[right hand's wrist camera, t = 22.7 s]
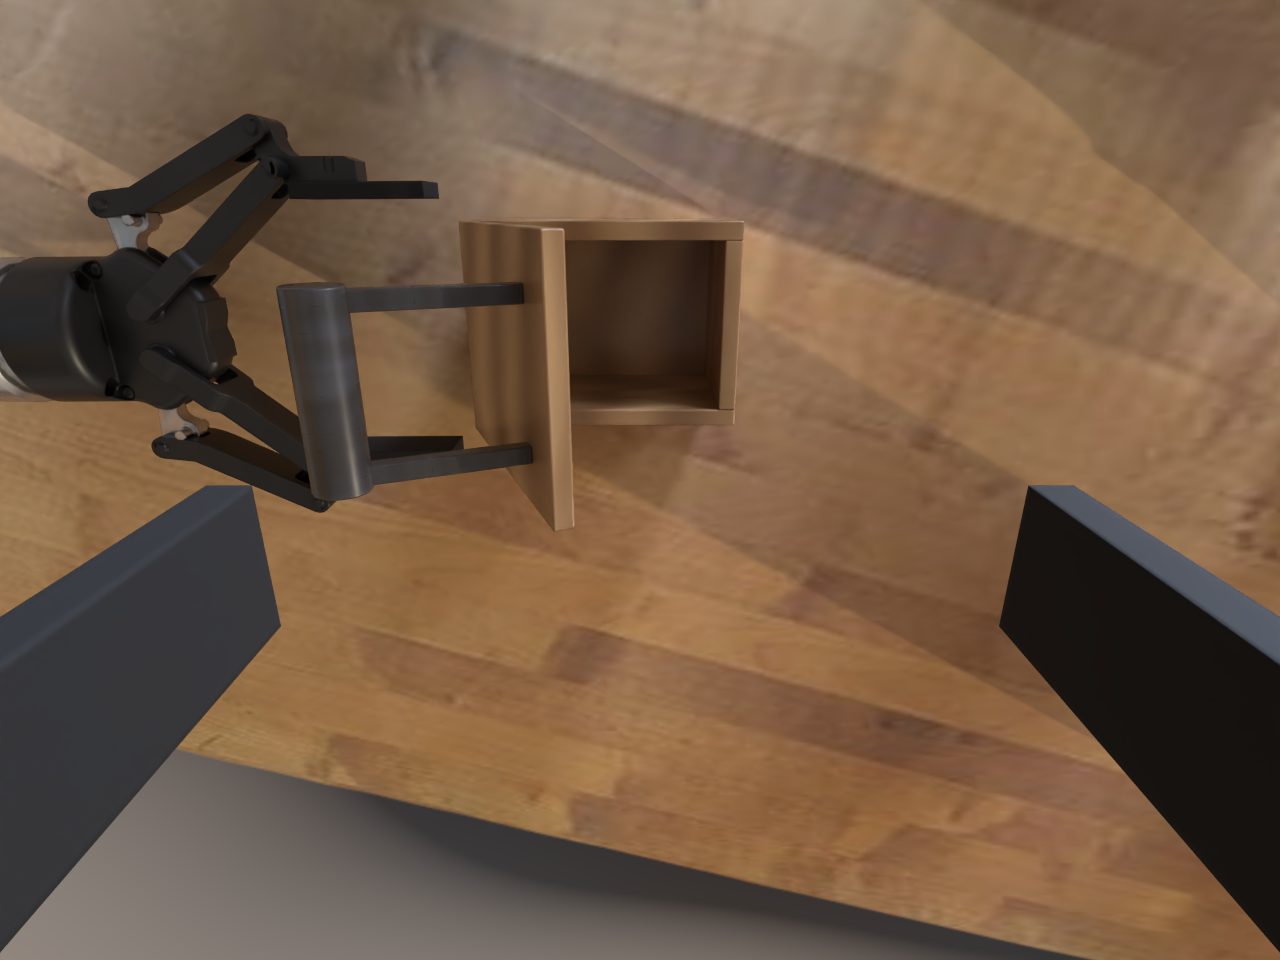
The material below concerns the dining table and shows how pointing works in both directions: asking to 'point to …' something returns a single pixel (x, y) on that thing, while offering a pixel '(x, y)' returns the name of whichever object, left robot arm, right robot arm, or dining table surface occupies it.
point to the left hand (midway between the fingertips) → (446, 328)
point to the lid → (499, 356)
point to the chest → (651, 318)
